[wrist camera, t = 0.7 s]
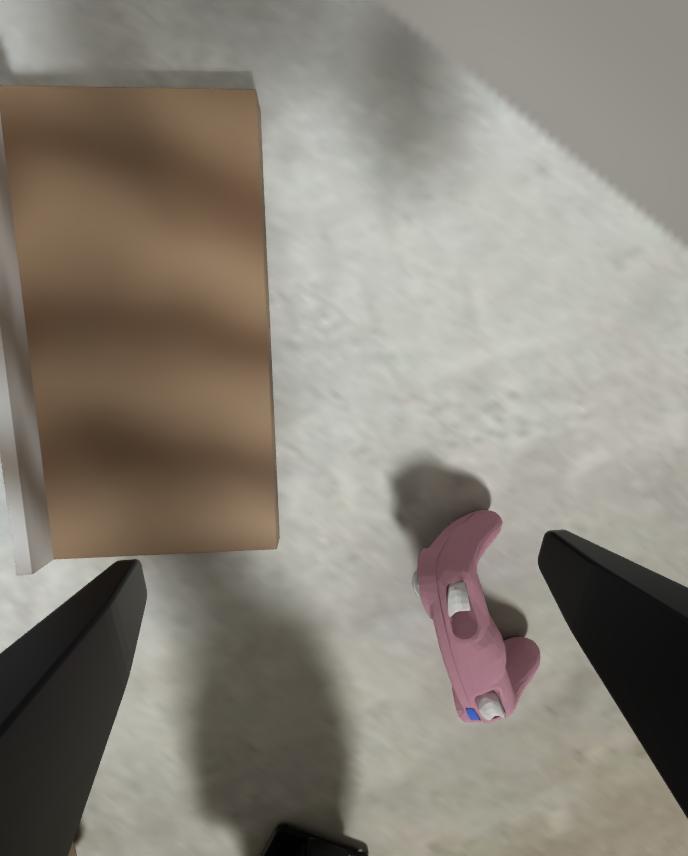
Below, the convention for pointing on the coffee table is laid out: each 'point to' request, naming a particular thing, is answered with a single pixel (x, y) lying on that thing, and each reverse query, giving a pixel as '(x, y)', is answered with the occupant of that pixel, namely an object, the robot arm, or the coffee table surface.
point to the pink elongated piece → (472, 622)
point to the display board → (134, 323)
